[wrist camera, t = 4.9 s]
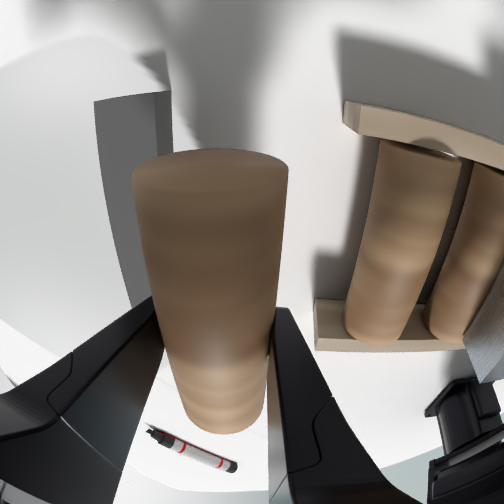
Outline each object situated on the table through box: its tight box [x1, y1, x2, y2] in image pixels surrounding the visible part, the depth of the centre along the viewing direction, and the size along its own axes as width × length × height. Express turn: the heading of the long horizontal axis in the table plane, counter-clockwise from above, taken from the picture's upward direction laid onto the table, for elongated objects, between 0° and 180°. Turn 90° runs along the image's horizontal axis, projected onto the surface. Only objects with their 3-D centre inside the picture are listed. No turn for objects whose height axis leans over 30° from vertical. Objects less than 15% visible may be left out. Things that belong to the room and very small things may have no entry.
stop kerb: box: [94, 91, 173, 308], centre depth 14 cm, size 12×3×2 cm, turn 179°
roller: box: [131, 149, 289, 434], centre depth 8 cm, size 9×3×3 cm, turn 178°
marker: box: [146, 429, 238, 473], centre depth 33 cm, size 15×2×2 cm, turn 44°
